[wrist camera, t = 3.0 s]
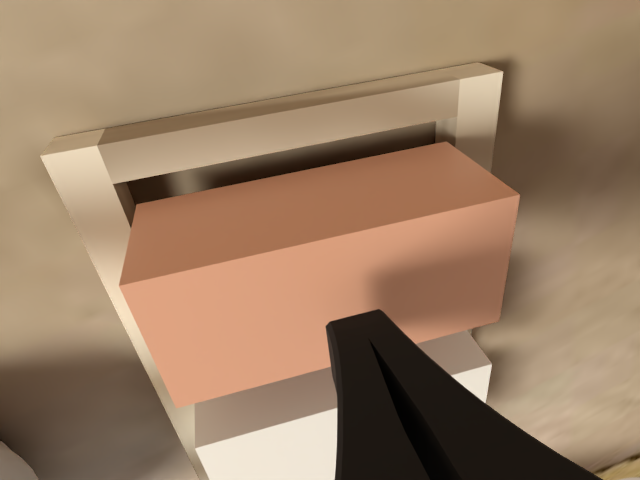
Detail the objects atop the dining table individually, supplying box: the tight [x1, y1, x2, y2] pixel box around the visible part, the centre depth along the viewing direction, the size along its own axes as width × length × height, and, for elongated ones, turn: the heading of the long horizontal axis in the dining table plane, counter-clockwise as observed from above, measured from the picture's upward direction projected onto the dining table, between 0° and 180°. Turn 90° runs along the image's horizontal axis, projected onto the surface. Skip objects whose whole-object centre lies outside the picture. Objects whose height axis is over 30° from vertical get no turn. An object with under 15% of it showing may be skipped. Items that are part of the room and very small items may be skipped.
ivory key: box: [194, 330, 492, 480], centre depth 17 cm, size 4×10×4 cm, turn 96°
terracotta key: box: [119, 141, 520, 408], centre depth 14 cm, size 4×10×4 cm, turn 96°
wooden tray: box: [40, 62, 503, 480], centre depth 20 cm, size 21×14×2 cm, turn 6°
